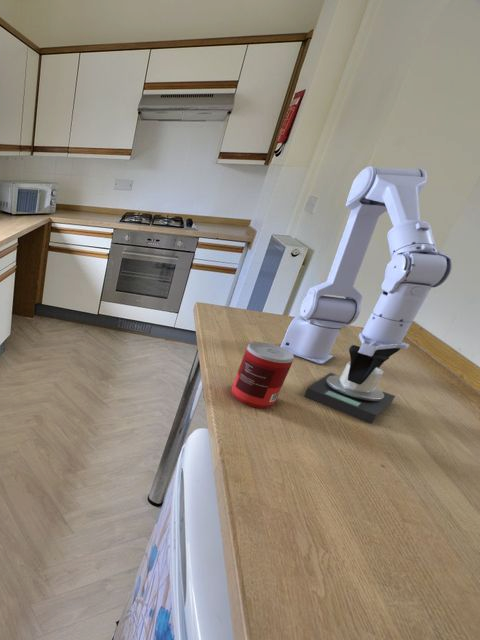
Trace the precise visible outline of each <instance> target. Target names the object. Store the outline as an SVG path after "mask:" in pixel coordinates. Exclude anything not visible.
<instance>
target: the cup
mask: <svg viewBox="0 0 480 640" xmlns="http://www.w3.org/2000/svg"><path fill="white" fill-rule="evenodd" d="M350 363H351V360H350V361H347V363H346V365H345V367H344V368H343V371H342V373H341V375H340V376H341V377H340V381H341V384H342V385H343V386H345V387H347V388H349V389H352V390H355V391H358V392H365V393H367V392H370V391H373V390H374V389H375V387H376V388H377V385H378V384H379V381H380V380H381V378H382V376H383V374H384V371H383V369H381V368H380V367H379V368H378V367H376V368H375V369H374V370H373V372H372V373H371V374H370V375H369V377H368V378H367V379H366V380H365V381H364V382H363V383H362V384H361V385H359V384H356V383H354V382H351V381H348V374H349V369H350Z"/></svg>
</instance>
